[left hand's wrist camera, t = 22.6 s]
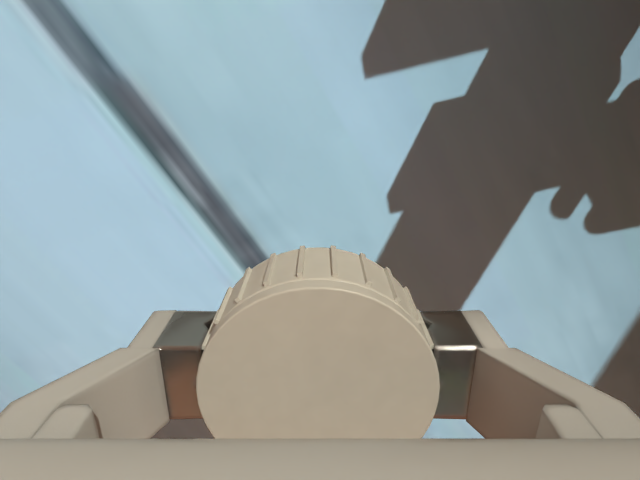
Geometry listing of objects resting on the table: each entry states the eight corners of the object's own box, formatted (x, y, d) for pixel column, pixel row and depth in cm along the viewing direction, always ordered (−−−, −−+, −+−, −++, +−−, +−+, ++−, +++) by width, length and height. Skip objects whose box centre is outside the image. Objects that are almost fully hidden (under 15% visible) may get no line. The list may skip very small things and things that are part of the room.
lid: (387, 212, 9) (405, 247, 7) (443, 389, 11) (469, 454, 9) (180, 282, 10) (146, 331, 8) (262, 439, 11) (251, 511, 9)
